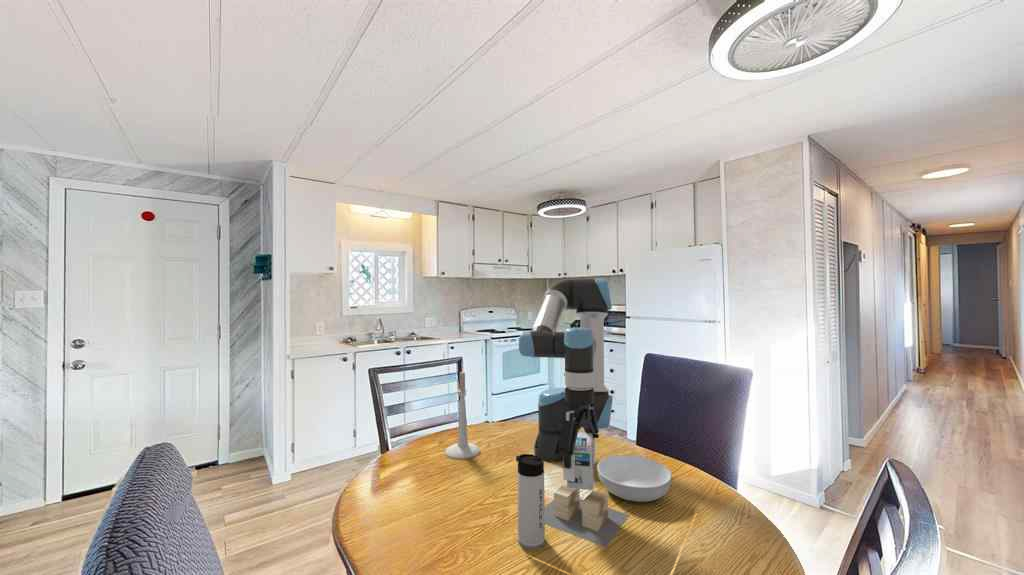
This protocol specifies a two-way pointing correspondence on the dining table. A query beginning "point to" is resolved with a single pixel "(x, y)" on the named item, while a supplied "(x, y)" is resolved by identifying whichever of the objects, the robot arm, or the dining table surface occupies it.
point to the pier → (595, 510)
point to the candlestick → (462, 431)
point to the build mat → (577, 529)
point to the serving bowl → (634, 477)
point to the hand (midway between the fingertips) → (580, 470)
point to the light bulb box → (583, 462)
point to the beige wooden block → (566, 502)
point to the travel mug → (531, 501)
